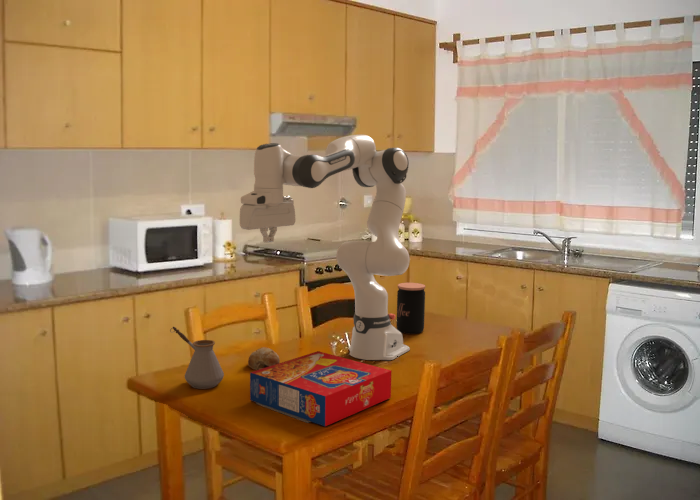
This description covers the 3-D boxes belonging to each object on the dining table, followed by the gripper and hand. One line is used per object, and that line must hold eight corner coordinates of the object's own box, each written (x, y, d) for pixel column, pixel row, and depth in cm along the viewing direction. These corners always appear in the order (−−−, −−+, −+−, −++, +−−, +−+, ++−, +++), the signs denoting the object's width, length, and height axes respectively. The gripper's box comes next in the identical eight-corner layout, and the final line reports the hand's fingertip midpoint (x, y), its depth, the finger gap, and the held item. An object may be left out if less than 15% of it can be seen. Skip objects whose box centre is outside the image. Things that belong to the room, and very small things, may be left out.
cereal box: (318, 351, 220) (391, 370, 202) (317, 376, 221) (390, 397, 204) (250, 372, 199) (325, 396, 181) (250, 400, 200) (325, 426, 182)
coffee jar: (392, 328, 281) (393, 283, 279) (417, 326, 284) (418, 282, 282) (402, 335, 271) (403, 288, 269) (428, 333, 274) (429, 287, 272)
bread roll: (249, 381, 228) (250, 362, 224) (245, 359, 236) (246, 340, 232) (280, 379, 230) (282, 360, 226) (275, 357, 239) (277, 339, 234)
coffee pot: (232, 384, 214) (231, 335, 211) (200, 394, 205) (199, 343, 203) (188, 368, 228) (187, 322, 225) (157, 377, 219) (156, 329, 217)
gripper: (286, 195, 228) (286, 238, 231) (236, 198, 213) (236, 244, 215) (300, 196, 224) (299, 240, 226) (250, 199, 209) (250, 246, 211)
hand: (268, 242), depth 221 cm, fingers closed
